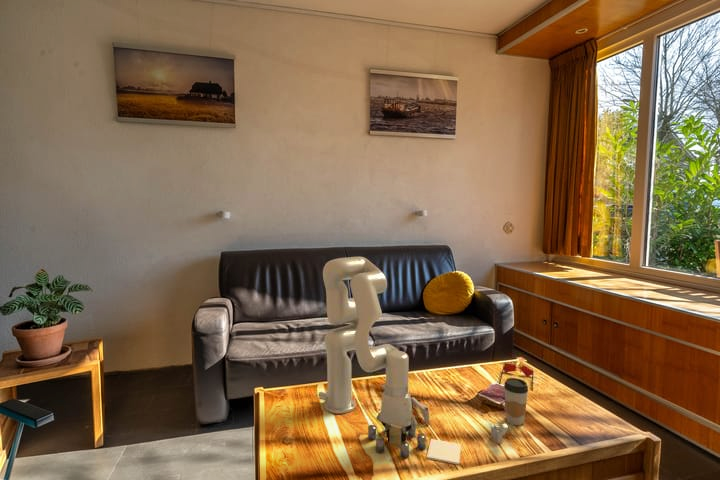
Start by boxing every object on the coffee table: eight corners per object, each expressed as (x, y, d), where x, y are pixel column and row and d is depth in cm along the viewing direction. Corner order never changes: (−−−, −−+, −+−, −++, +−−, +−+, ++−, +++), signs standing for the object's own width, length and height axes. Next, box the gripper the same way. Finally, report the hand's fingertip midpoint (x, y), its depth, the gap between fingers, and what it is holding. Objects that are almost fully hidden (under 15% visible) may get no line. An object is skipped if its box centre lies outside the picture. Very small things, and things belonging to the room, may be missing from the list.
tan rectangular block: (389, 444, 132) (389, 427, 132) (391, 437, 136) (392, 421, 135) (400, 447, 131) (401, 429, 130) (403, 440, 135) (403, 423, 134)
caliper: (429, 426, 144) (429, 409, 144) (426, 426, 144) (426, 409, 143) (413, 399, 164) (413, 384, 164) (410, 399, 164) (410, 384, 163)
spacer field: (361, 450, 129) (361, 438, 129) (374, 426, 143) (374, 415, 143) (422, 462, 123) (422, 450, 123) (428, 436, 137) (429, 425, 137)
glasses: (533, 377, 186) (534, 366, 185) (532, 392, 171) (533, 380, 170) (502, 371, 192) (502, 361, 191) (498, 385, 177) (499, 374, 176)
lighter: (490, 437, 137) (491, 415, 136) (494, 436, 137) (495, 414, 137) (503, 449, 130) (503, 426, 129) (507, 448, 131) (508, 425, 130)
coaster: (426, 458, 125) (426, 456, 125) (431, 440, 135) (431, 438, 135) (459, 464, 122) (459, 462, 122) (461, 446, 132) (461, 444, 132)
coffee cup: (527, 418, 149) (528, 379, 148) (526, 429, 142) (528, 389, 140) (503, 413, 153) (505, 375, 151) (501, 424, 145) (503, 384, 144)
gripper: (369, 390, 131) (369, 442, 132) (420, 398, 126) (419, 452, 127) (375, 380, 138) (375, 430, 139) (423, 387, 133) (422, 439, 134)
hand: (396, 440), depth 133 cm, fingers closed on tan rectangular block, 4 cm apart
